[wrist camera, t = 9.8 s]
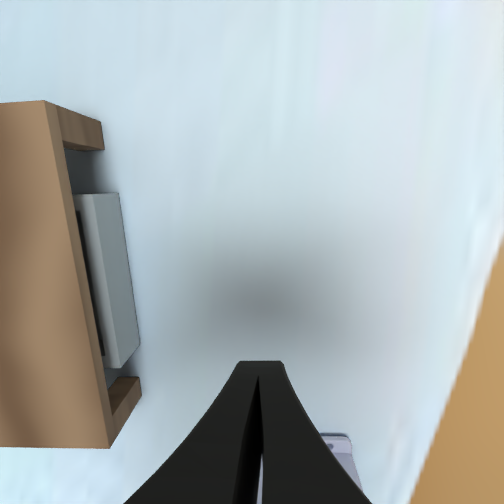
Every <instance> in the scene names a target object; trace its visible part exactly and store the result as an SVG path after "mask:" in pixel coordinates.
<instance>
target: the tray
mask: <svg viewBox="0 0 504 504" xmlns="http://www.w3.org/2000/svg"><path fill="white" fill-rule="evenodd" d="M72 197H73V203H74V208H75V214H76V219H77V225H78V231H79V236H80V242H81V247H82V253H83V258H84V264H85V269H86V275H87V280H88V286H89V291H90V297H91V302H92V308H93V314H94V319H95V325H96V330H97V336H98V341H99V347H100V352H101V358H102V363H103V368H121V367H122V366H123V365H124V363H125V362H126V361H127V360H128V358H129V357H130V356H131V355H132V354H133V352H134V351H135V350H136V349H137V347H138V346H139V345H140V340H139V333H138V326H137V319H136V312H135V305H134V298H133V291H132V284H131V277H130V270H129V263H128V256H127V249H126V243H125V236H124V229H123V222H122V215H121V208H120V201H119V194H118V193H104V194H81V195H72Z"/></svg>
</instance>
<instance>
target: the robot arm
mask: <svg viewBox="0 0 504 504" xmlns="http://www.w3.org/2000/svg"><path fill="white" fill-rule="evenodd" d="M327 444H330V445H327ZM123 504H372V503H371V502H370V501H369V499H368V498H367V497H366V496H365V494H364V493H363V489H362V486H361V483H360V480H359V476H358V473H357V470H356V467H355V463H354V460H353V457H352V445H351V441H350V439H349V438H347V437H344V436H320V434H319V433H318V431H317V429H316V428H315V426H314V425H313V423H312V422H311V420H310V418H309V417H308V415H307V413H306V411H305V410H304V408H303V406H302V404H301V403H300V401H299V399H298V397H297V395H296V393H295V391H294V389H293V387H292V385H291V383H290V381H289V378H288V376H287V373H286V371H285V367H284V364H283V363H282V362H281V361H240V362H239V363H238V364H237V365H236V367H235V369H234V370H233V372H232V374H231V376H230V377H229V379H228V381H227V382H226V384H225V385H224V387H223V389H222V390H221V392H220V393H219V394H218V396H217V397H216V399H215V400H214V402H213V403H212V405H211V406H210V408H209V409H208V410H207V412H206V413H205V414H204V416H203V417H202V418H201V419H200V421H199V422H198V423H197V425H196V426H195V427H194V428H193V430H192V431H191V432H190V434H189V435H188V436H187V437H186V438H185V440H184V441H183V442H182V443H181V444H180V446H179V447H178V448H177V449H176V450H175V451H174V452H173V454H172V455H171V456H170V457H169V458H168V459H167V460H166V461H165V462H164V463H163V464H162V466H161V467H160V468H159V469H158V470H157V471H156V472H155V473H154V474H153V475H152V476H151V477H150V478H149V479H148V480H147V481H146V482H145V483H144V484H143V485H142V486H141V487H140V488H139V489H138V490H137V491H136V492H135V493H134V494H133V495H132V496H131V497H130V498H129V499H128V500H127V501H126V502H125V503H123Z"/></svg>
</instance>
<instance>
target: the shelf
mask: <svg viewBox="0 0 504 504" xmlns="http://www.w3.org/2000/svg"><path fill="white" fill-rule="evenodd" d="M64 148H67V149H72V150H77V151H87V150H105V149H104V142H103V136H102V129H101V122H100V121H97V120H95V119H92V118H89V117H87V116H84V115H82V114H79V113H76V112H74V111H71V110H68V109H66V108H63V107H60V106H58V105H55V104H52V103H50V102H47V101H45V100H40V101H26V102H11V103H0V447H31V448H95V449H110V447H111V446H112V444H113V442H114V441H115V439H116V437H117V436H118V434H119V432H120V431H121V429H122V427H123V426H124V424H125V422H126V421H127V419H128V418H129V416H130V414H131V413H132V411H133V409H134V408H135V406H136V404H137V403H138V401H139V399H140V398H141V396H142V394H141V388H140V381H139V377H118V378H117V379H116V380H115V382H114V383H113V384H112V385H111V387H110V388H109V389H108V390H107V385H106V380H105V374H104V369H103V363H102V358H101V352H100V347H99V341H98V336H97V330H96V325H95V319H94V314H93V308H92V302H91V297H90V291H89V286H88V280H87V275H86V269H85V264H84V258H83V253H82V247H81V242H80V236H79V231H78V225H77V219H76V214H75V208H74V203H73V197H72V192H71V186H70V181H69V175H68V170H67V164H66V159H65V153H64Z"/></svg>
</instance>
